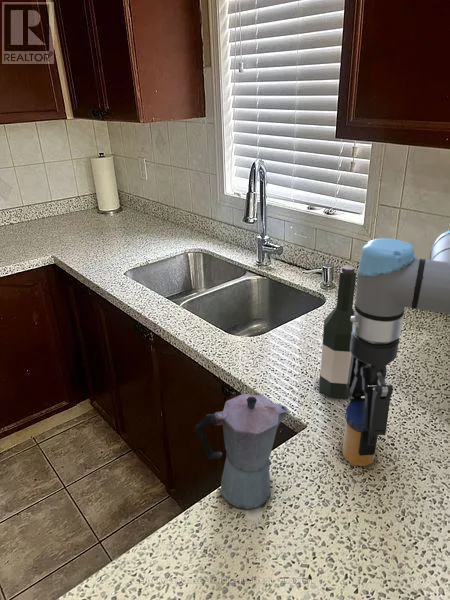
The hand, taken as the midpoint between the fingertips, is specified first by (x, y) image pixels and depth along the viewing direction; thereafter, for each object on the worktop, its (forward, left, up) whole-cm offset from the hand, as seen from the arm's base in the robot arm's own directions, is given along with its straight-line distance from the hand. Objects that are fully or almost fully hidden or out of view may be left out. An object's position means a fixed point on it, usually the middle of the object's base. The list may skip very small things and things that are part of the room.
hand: (360, 439), depth 83 cm
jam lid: (0, 0, +6) cm, 6 cm away
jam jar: (0, 0, -4) cm, 4 cm away
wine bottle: (+9, -18, -4) cm, 21 cm away
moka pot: (+16, +17, -4) cm, 24 cm away
